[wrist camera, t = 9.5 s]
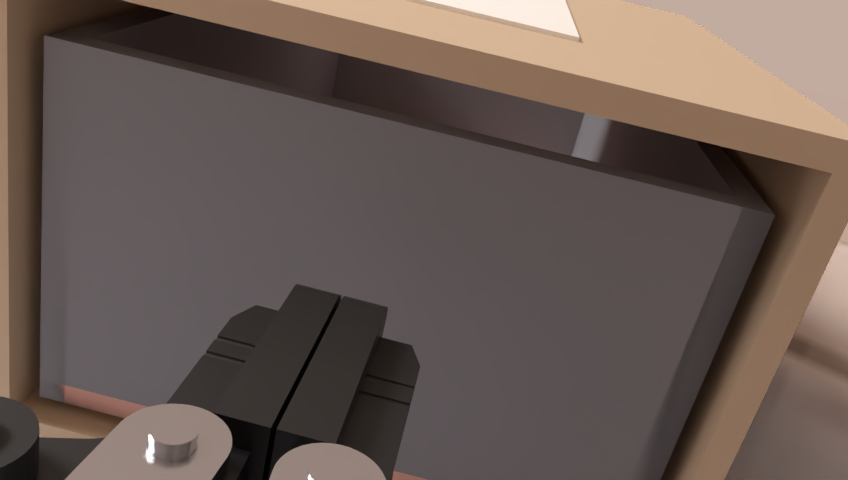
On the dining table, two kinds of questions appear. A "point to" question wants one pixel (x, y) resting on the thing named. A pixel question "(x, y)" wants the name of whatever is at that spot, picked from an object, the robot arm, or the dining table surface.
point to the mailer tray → (385, 241)
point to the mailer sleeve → (510, 74)
